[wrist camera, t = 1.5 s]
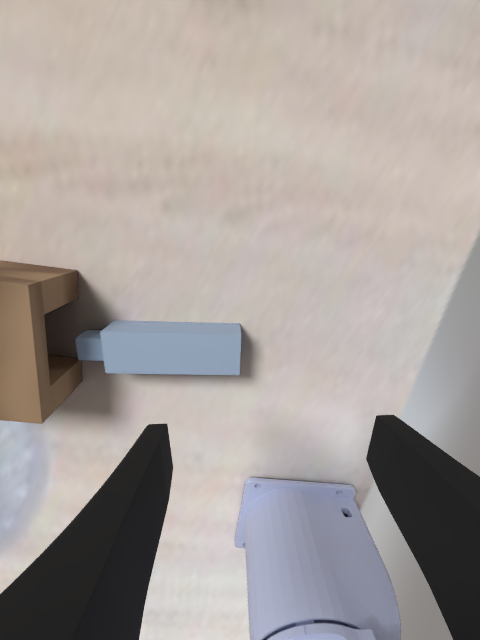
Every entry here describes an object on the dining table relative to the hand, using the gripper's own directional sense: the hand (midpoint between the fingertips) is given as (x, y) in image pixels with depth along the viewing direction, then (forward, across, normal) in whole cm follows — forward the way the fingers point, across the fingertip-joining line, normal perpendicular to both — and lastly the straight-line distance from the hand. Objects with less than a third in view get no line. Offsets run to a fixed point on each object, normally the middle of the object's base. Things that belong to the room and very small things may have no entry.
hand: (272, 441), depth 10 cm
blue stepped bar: (+11, +5, +1) cm, 12 cm away
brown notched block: (+11, +14, 0) cm, 18 cm away
